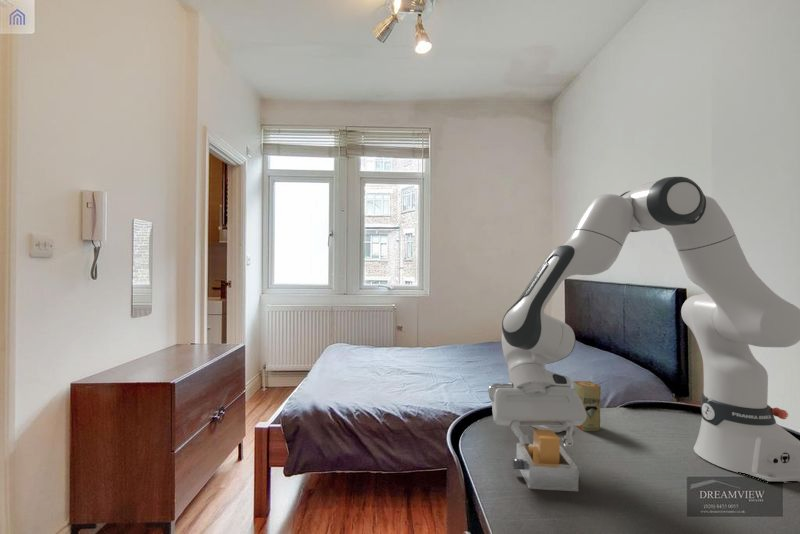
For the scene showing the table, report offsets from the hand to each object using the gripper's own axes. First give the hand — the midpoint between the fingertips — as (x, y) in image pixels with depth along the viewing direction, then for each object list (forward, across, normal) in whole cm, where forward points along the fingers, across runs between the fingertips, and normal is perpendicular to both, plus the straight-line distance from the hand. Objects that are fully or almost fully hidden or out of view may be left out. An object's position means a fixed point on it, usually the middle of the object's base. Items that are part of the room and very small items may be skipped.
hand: (547, 445), depth 76 cm
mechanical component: (-13, +11, +24) cm, 29 cm away
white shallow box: (+4, 0, +5) cm, 7 cm away
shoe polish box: (-12, +22, +23) cm, 34 cm away
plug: (+4, 0, +5) cm, 7 cm away
